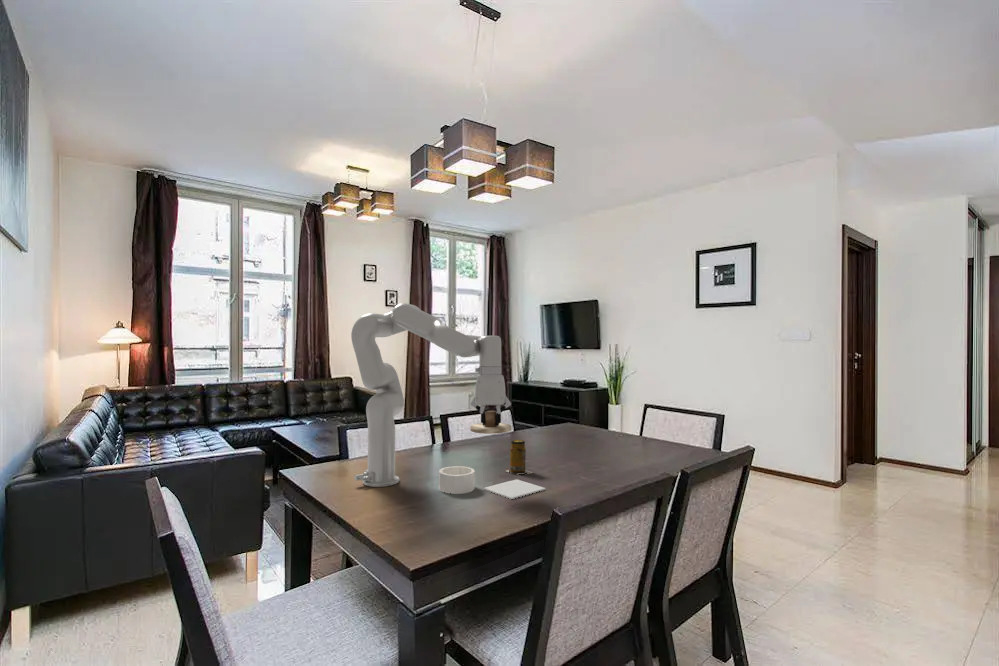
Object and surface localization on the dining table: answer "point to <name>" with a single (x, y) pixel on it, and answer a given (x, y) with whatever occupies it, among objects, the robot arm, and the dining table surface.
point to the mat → (514, 489)
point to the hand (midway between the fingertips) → (490, 424)
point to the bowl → (456, 480)
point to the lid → (490, 425)
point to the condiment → (517, 457)
